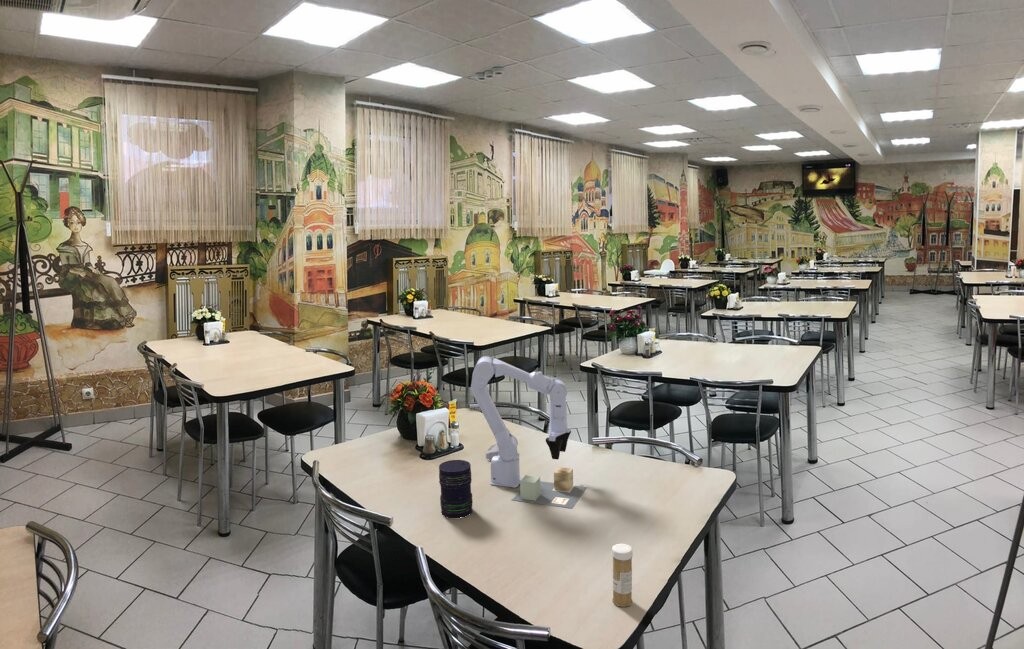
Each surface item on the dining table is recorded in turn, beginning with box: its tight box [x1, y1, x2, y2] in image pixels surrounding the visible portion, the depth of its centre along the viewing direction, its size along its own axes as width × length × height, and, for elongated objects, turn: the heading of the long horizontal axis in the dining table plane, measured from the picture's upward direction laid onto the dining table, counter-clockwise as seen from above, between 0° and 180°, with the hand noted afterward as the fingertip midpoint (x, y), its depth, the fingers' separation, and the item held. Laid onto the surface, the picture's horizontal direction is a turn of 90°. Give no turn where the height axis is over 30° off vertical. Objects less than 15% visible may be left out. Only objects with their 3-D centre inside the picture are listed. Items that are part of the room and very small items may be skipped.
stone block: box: [485, 443, 499, 460], centre depth 244 cm, size 12×5×10 cm
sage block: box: [519, 475, 541, 501], centre depth 206 cm, size 5×5×6 cm
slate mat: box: [511, 480, 587, 509], centre depth 208 cm, size 20×17×1 cm
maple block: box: [553, 466, 574, 492], centre depth 212 cm, size 5×5×6 cm
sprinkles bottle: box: [611, 543, 633, 608], centre depth 146 cm, size 5×5×14 cm
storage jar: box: [438, 459, 474, 519], centre depth 196 cm, size 10×10×15 cm
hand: (558, 455), depth 217 cm, fingers open, 7 cm apart
